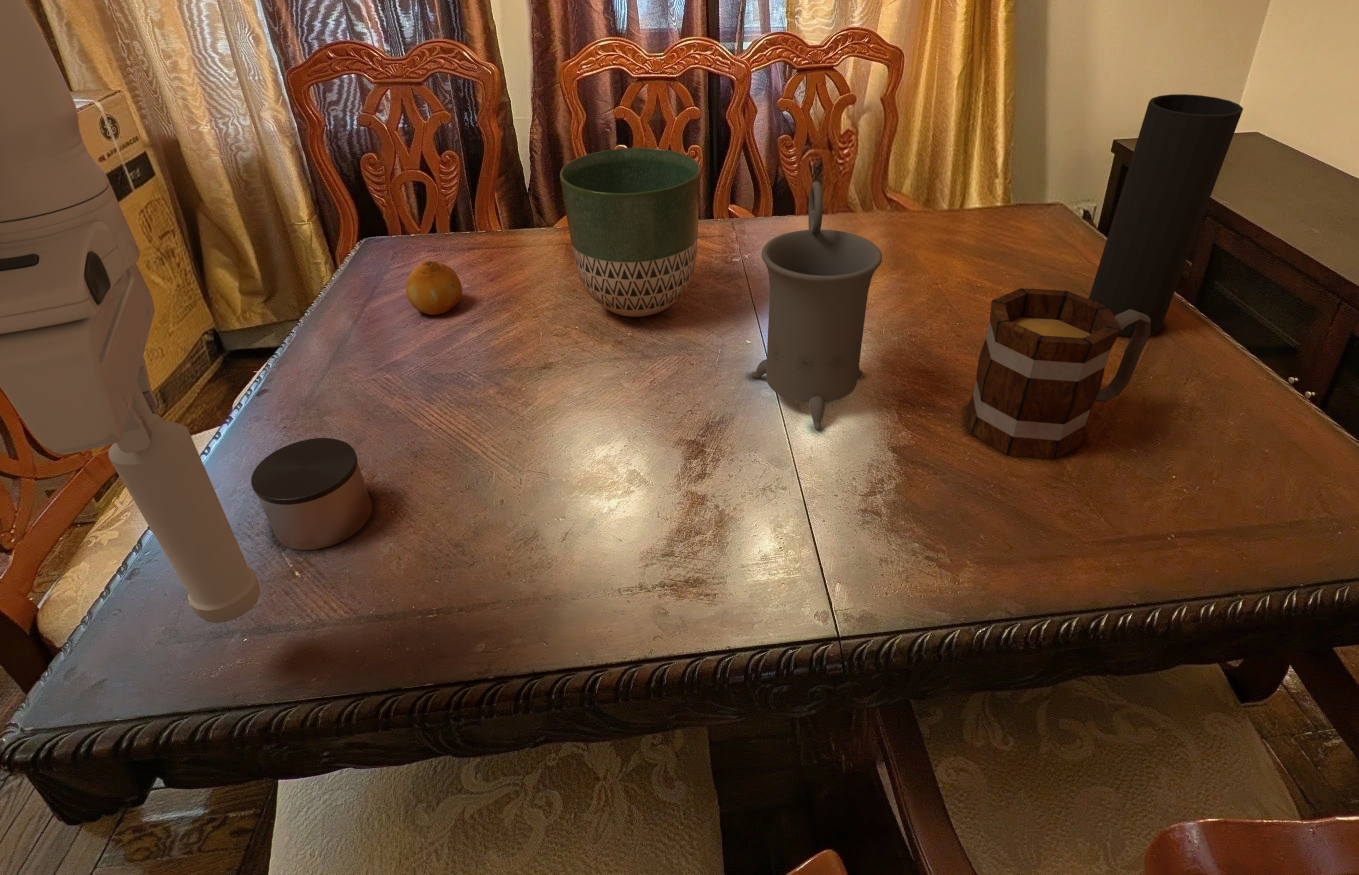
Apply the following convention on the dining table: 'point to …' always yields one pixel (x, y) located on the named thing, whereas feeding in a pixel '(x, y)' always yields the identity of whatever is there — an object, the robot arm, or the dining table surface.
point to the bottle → (187, 518)
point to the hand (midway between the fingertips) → (142, 430)
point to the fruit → (433, 288)
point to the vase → (1163, 203)
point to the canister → (312, 493)
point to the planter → (633, 226)
